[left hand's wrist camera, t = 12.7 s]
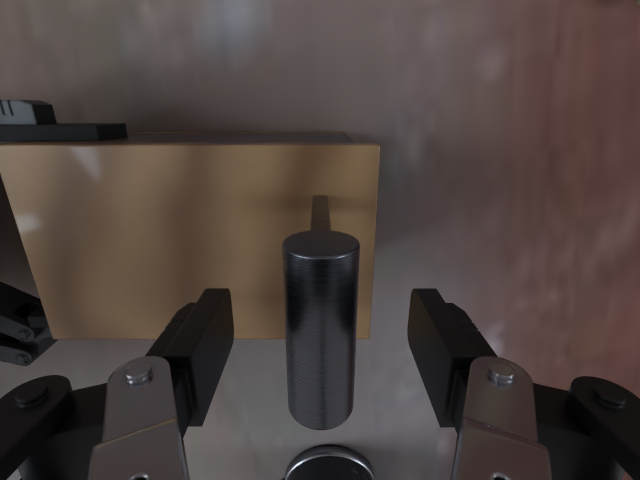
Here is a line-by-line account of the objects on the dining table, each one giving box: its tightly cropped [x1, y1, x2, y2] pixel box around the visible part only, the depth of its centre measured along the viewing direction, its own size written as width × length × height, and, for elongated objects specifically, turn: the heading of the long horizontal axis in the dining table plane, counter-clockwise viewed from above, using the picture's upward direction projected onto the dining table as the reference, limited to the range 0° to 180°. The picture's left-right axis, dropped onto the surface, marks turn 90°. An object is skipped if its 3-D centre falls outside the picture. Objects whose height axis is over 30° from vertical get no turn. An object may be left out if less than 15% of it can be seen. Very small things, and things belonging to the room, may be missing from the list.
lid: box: [0, 142, 381, 430], centre depth 14 cm, size 17×10×9 cm, turn 90°
